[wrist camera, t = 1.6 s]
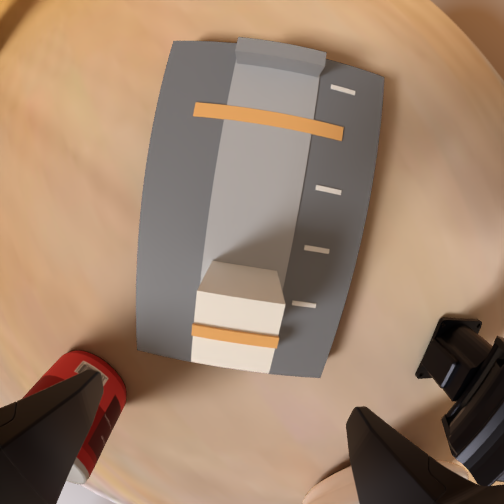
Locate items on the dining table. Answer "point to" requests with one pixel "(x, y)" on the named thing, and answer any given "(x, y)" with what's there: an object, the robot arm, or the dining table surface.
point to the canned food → (105, 413)
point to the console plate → (256, 188)
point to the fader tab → (237, 317)
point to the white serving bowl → (352, 486)
